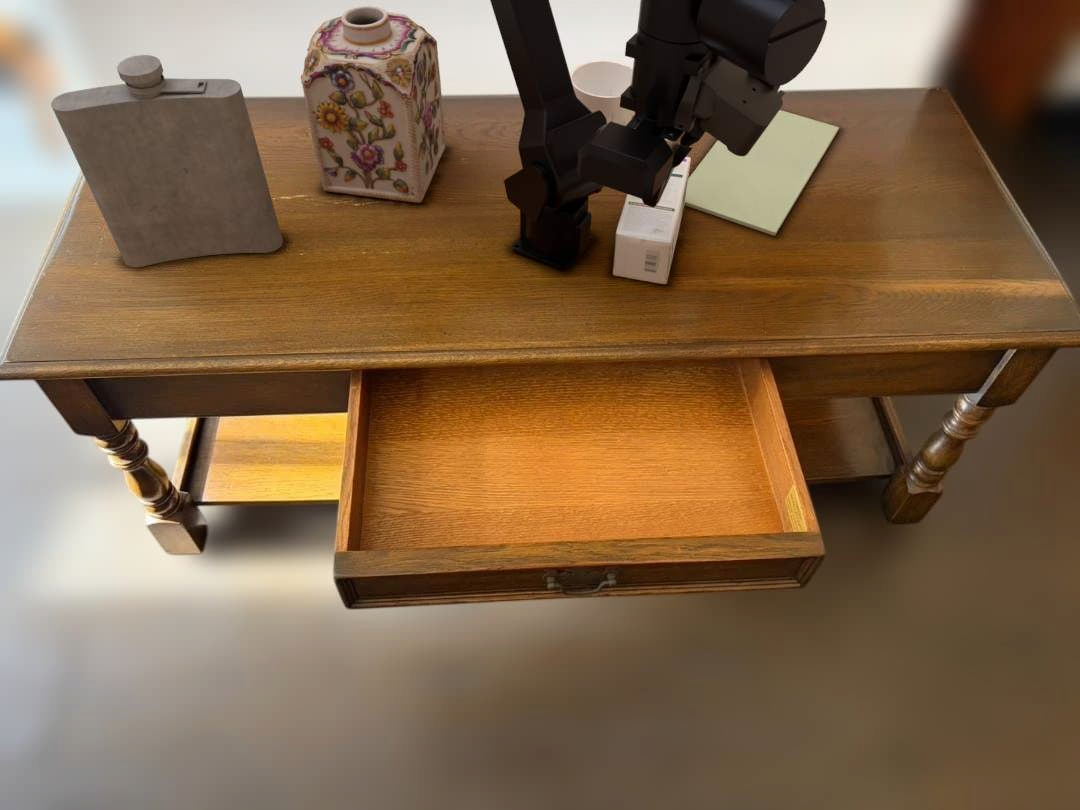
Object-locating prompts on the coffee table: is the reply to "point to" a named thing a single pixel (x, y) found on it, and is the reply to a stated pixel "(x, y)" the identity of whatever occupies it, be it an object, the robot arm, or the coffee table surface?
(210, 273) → the coffee table surface
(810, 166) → the paper notepad
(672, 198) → the syrup box
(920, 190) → the coffee table surface
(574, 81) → the white cup
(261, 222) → the hip flask
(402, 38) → the decorative jar
